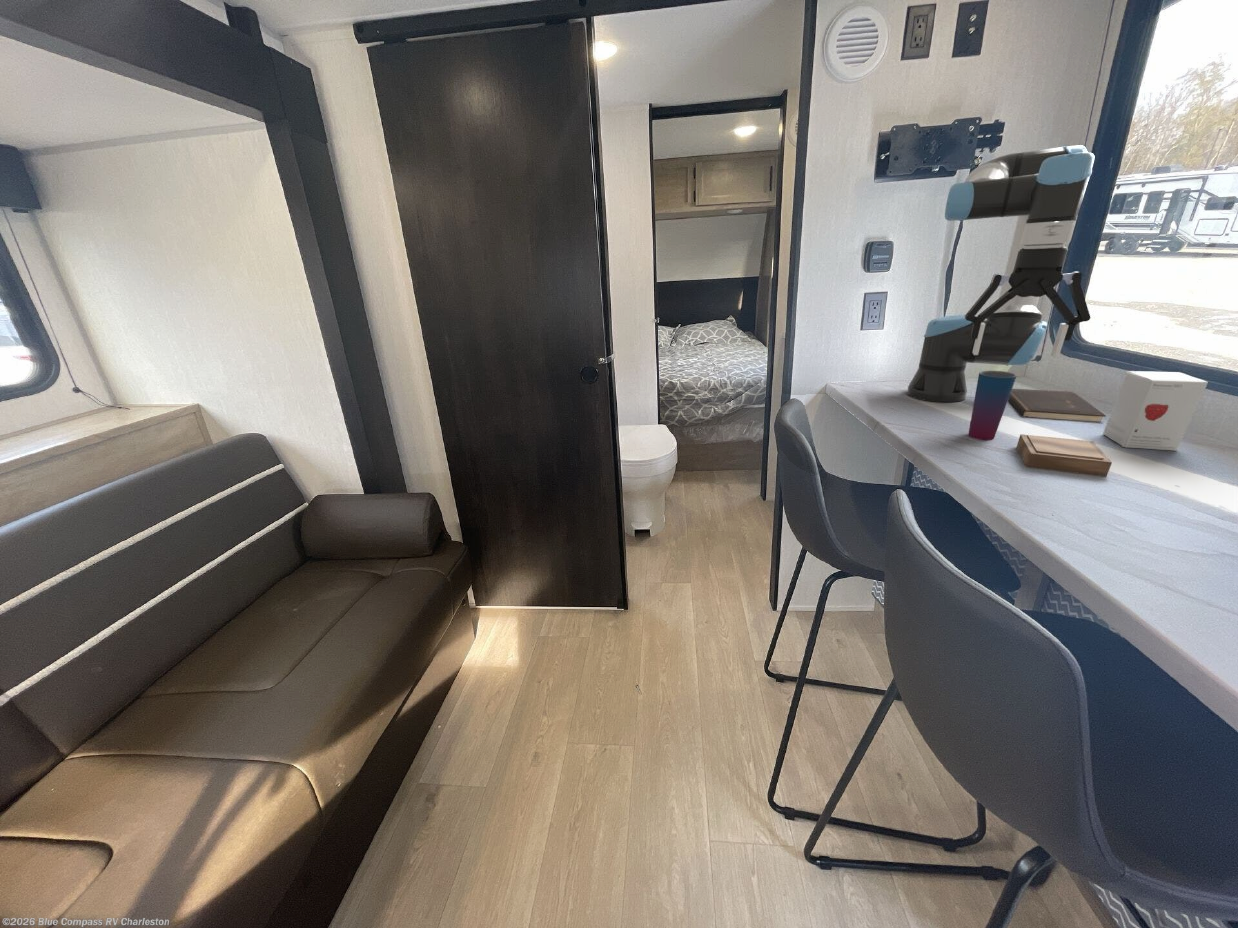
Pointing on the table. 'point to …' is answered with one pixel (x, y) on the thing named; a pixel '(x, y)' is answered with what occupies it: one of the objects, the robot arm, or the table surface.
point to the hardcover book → (1053, 405)
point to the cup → (990, 403)
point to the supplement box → (1154, 409)
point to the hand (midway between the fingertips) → (1013, 355)
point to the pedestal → (1063, 455)
